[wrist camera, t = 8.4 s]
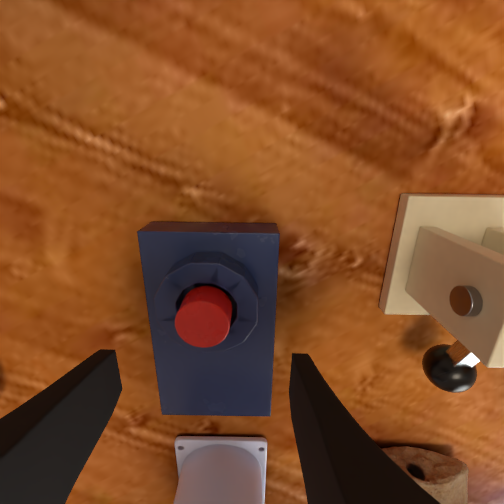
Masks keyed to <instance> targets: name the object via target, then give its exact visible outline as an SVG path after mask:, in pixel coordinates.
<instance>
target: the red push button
mask: <svg viewBox="0 0 504 504" xmlns="http://www.w3.org/2000/svg"><path fill="white" fill-rule="evenodd" d="M231 315H232V304H231V301H230V299H229V297H228V296H227V295H226V294H225V293H224V292H223V291H222V290H220V289H218V288H216V287H213V286H199V287H196V288H194V289H192V290H190V291H189V292H188V293H187V294H186V296H185V297H184V299H183V302H182V304H181V306H180V308H179V310H178V312H177V314H176V317H175V328H176V331H177V333H178V335H179V336H180V337H181V338H182V339H183V340H184V341H185V342H186V343H188V344H190V345H192V346H196V347H202V348H207V347H212V346H215V345H217V344H219V343H220V342H222V341H223V340H224V339H225V338H226V336H227V335H228V333H229V329H230V322H231Z"/></svg>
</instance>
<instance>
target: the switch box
mask: <svg viewBox="0 0 504 504" xmlns="http://www.w3.org/2000/svg"><path fill="white" fill-rule="evenodd" d="M379 308H380V309H381V310H382V311H383V313H384V314H405V315H431V316H432V317H434V318H435V319H436V320H437V321H438V322H439V323H440V324H441V325H442V326H443V327H444V328H445V329H446V330H448V331H449V332H450V333H451V334H452V335H453V336H454V337H455V338H456V339H457V340H458V341H459V342H460V343H462V344H463V345H464V346H465V347H466V348H467V349H468V350H469V351H470V352H471V353H472V354H473V355H475V356H476V357H477V358H478V359H479V360H480V361H481V362H482V363H483V364H484V365H485V366H486V367H491V368H504V195H481V194H410V193H402V194H401V196H400V201H399V207H398V212H397V217H396V222H395V227H394V232H393V237H392V242H391V247H390V252H389V257H388V262H387V267H386V272H385V277H384V282H383V288H382V293H381V298H380V303H379Z"/></svg>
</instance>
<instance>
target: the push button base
mask: <svg viewBox="0 0 504 504" xmlns="http://www.w3.org/2000/svg"><path fill="white" fill-rule="evenodd" d="M137 233H138V241H139V248H140V256H141V263H142V270H143V278H144V285H145V292H146V300H147V307H148V315H149V322H150V329H151V337H152V344H153V351H154V359H155V366H156V373H157V381H158V388H159V396H160V403H161V410H162V415H217V416H271V398H272V377H273V357H274V337H275V317H276V297H277V277H278V256H279V236H280V234H279V230H278V227H277V224H276V223H209V222H150V223H149V224H147V225H146V226H145V227H143V228H142V229H140V230H139V231H137ZM199 286H213V287H216V288H218V289H220V290H222V291H223V292H224V293H225V294H226V295H227V296H228V297H229V299H230V301H231V304H232V315H231V322H230V329H229V333H228V335H227V336H226V338H225V339H224V340H223V341H222V342H220V343H219V344H217V345H215V346H212V347H207V348H202V347H196V346H192V345H190V344H188V343H186V342H185V341H184V340H183V339H182V338H181V337H180V336H179V335H178V333H177V331H176V328H175V317H176V314H177V312H178V310H179V308H180V306H181V304H182V302H183V299H184V297H185V296H186V294H187V293H188V292H189V291H190V290H192V289H194V288H196V287H199Z"/></svg>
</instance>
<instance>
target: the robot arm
mask: <svg viewBox="0 0 504 504" xmlns="http://www.w3.org/2000/svg"><path fill="white" fill-rule="evenodd" d="M121 391H122V384H121V379H120V374H119V368H118V363H117V358H116V352H115V350H99V351H97V352H96V353H94V354H93V355H91V356H90V357H89V358H87V359H86V360H84V361H83V362H82V363H80V364H79V365H78V366H76V367H75V368H74V369H72V370H71V371H69V372H68V373H67V374H65V375H64V376H63V377H61V378H60V379H58V380H57V381H56V382H54V383H53V384H52V385H50V386H49V387H47V388H46V389H45V390H43V391H42V392H40V393H39V394H37V395H36V396H34V397H33V398H31V399H30V400H28V401H27V402H25V403H24V404H22V405H21V406H19V407H18V408H16V409H15V410H13V411H12V412H10V413H9V414H7V415H6V416H4V417H2V418H1V419H0V504H65V503H66V500H67V498H68V496H69V494H70V492H71V490H72V488H73V486H74V484H75V482H76V480H77V478H78V476H79V474H80V472H81V471H82V469H83V467H84V465H85V463H86V462H87V460H88V458H89V456H90V454H91V452H92V451H93V449H94V447H95V445H96V443H97V441H98V440H99V438H100V436H101V434H102V432H103V430H104V429H105V427H106V425H107V423H108V421H109V419H110V417H111V415H112V413H113V411H114V408H115V406H116V404H117V401H118V399H119V396H120V393H121ZM289 397H290V408H291V417H292V423H293V428H294V433H295V438H296V443H297V448H298V453H299V458H300V463H301V468H302V473H303V478H304V483H305V488H306V494H307V501H308V504H441V503H439V502H438V501H437V500H436V499H435V498H434V497H432V496H431V495H430V494H429V493H428V492H426V491H425V490H424V489H423V488H422V487H421V486H419V485H418V484H417V483H416V482H415V481H414V480H413V479H412V478H411V477H410V476H409V475H408V474H407V473H406V472H404V471H403V470H402V469H401V468H400V467H399V466H398V465H397V464H396V463H395V462H394V461H393V460H392V459H391V458H390V457H389V456H388V455H387V454H386V453H385V452H384V451H383V450H382V449H381V448H380V447H379V446H378V445H377V444H376V443H375V442H374V441H373V440H372V439H371V438H370V437H369V435H368V434H367V433H366V432H365V431H364V430H363V429H362V428H361V426H360V425H359V424H358V423H357V422H356V421H355V419H354V418H353V417H352V416H351V414H350V413H349V412H348V411H347V410H346V408H345V407H344V406H343V404H342V403H341V402H340V401H339V399H338V398H337V396H336V395H335V394H334V392H333V391H332V390H331V388H330V387H329V385H328V384H327V383H326V381H325V380H324V378H323V377H322V375H321V374H320V372H319V371H318V369H317V367H316V366H315V364H314V362H313V361H312V359H311V357H310V356H309V355H308V354H296V353H292V363H291V375H290V386H289ZM175 451H176V460H177V468H178V476H179V482H178V487H177V491H176V496H175V500H174V504H264V503H265V481H266V459H267V440H266V439H265V438H263V437H217V436H178V437H177V438H176V439H175Z"/></svg>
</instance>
